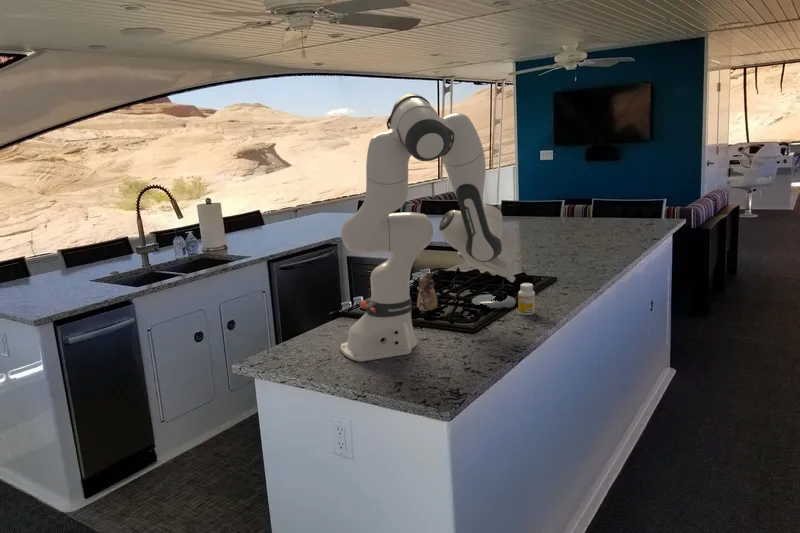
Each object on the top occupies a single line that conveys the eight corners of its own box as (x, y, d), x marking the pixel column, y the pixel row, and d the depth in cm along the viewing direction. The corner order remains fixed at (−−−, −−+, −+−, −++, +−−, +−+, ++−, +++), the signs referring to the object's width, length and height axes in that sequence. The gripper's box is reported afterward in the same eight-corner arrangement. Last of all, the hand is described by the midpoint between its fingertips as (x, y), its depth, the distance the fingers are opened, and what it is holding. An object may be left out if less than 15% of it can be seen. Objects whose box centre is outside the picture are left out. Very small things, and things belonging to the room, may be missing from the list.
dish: (488, 313, 205) (488, 310, 205) (463, 302, 218) (463, 299, 218) (524, 305, 212) (524, 301, 212) (498, 294, 225) (498, 291, 225)
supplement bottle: (523, 309, 208) (523, 281, 206) (537, 311, 205) (538, 283, 202) (515, 313, 204) (515, 285, 202) (530, 316, 201) (530, 287, 198)
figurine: (413, 306, 216) (412, 273, 213) (431, 303, 219) (430, 270, 216) (422, 312, 210) (421, 278, 207) (441, 308, 213) (440, 275, 210)
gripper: (504, 249, 181) (530, 276, 187) (465, 237, 198) (491, 262, 205) (491, 266, 180) (518, 292, 187) (454, 253, 198) (480, 277, 204)
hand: (503, 276), depth 196 cm, fingers open, 8 cm apart
